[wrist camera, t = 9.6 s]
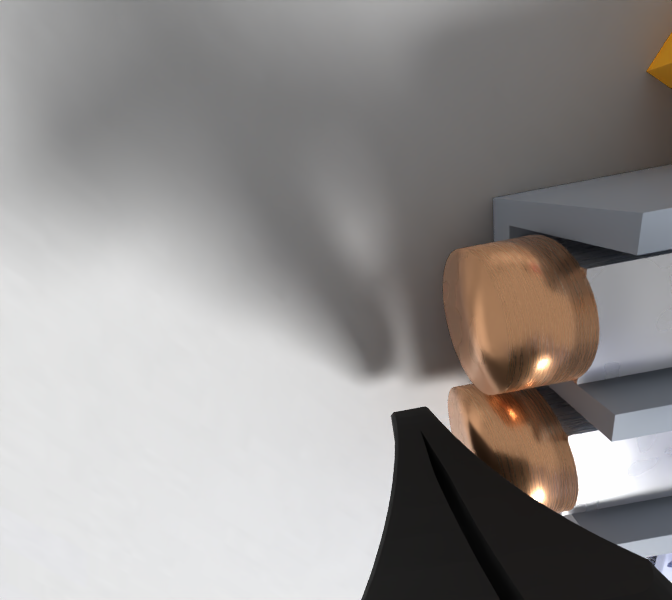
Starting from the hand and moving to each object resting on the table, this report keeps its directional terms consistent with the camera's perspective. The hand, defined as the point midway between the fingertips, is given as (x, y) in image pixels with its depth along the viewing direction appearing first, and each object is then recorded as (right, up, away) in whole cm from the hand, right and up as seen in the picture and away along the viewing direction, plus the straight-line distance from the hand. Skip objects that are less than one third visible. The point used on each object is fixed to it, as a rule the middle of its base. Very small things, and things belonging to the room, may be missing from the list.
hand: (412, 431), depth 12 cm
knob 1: (+5, +6, -1) cm, 7 cm away
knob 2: (+5, +1, +1) cm, 6 cm away
